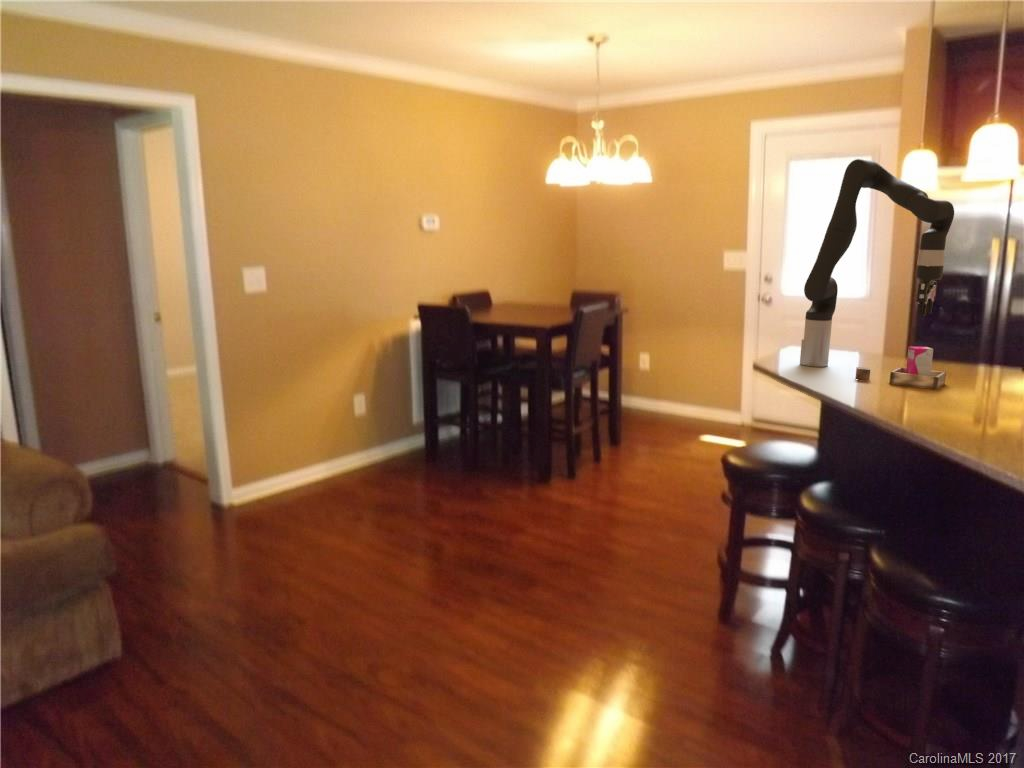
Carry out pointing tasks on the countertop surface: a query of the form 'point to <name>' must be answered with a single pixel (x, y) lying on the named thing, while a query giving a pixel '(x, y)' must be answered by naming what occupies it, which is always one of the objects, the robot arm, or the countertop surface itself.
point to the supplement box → (919, 361)
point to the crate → (917, 379)
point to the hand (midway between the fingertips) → (924, 314)
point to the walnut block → (862, 373)
